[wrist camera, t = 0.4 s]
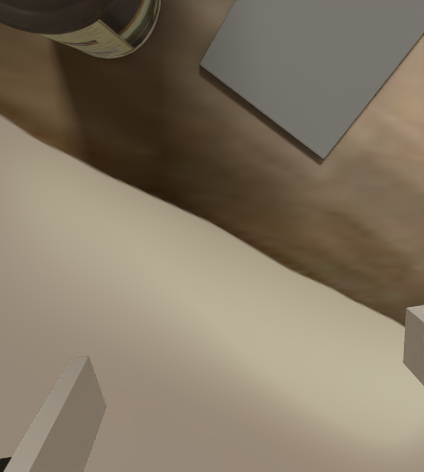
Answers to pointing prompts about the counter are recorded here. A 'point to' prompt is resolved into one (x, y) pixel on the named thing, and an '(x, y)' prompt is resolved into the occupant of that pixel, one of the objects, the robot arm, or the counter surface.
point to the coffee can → (86, 23)
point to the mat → (313, 59)
